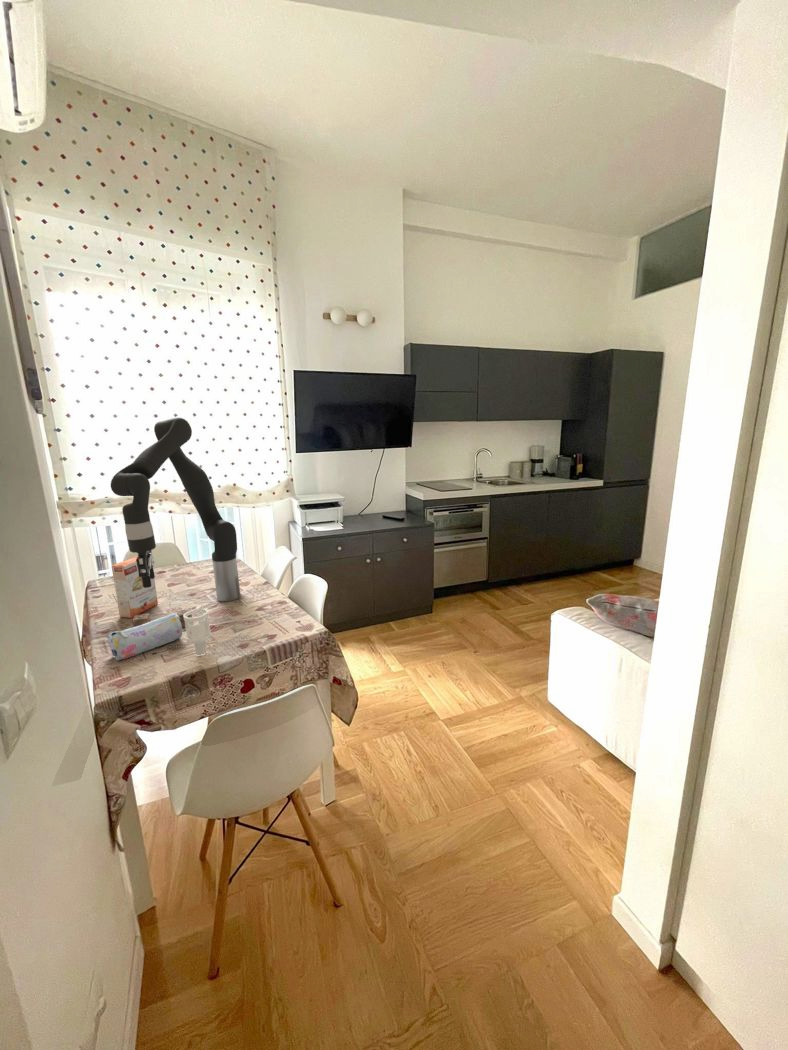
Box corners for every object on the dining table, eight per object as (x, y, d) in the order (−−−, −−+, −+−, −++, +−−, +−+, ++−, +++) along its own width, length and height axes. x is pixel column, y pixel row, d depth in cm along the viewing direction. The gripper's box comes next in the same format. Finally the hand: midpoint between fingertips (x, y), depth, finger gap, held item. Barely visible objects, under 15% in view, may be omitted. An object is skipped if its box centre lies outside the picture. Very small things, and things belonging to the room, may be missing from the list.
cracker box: (132, 618, 162) (123, 566, 158) (119, 617, 164) (109, 565, 159) (159, 603, 176) (151, 555, 171) (146, 603, 177) (138, 554, 172)
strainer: (216, 647, 140) (211, 604, 136) (208, 659, 133) (202, 614, 129) (194, 648, 139) (188, 605, 136) (185, 660, 132) (178, 615, 129)
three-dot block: (151, 624, 157) (149, 612, 156) (148, 629, 153) (146, 617, 152) (137, 626, 156) (135, 614, 155) (134, 632, 152) (132, 620, 151)
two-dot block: (192, 620, 160) (190, 608, 159) (191, 625, 156) (189, 613, 155) (179, 622, 159) (177, 610, 158) (177, 627, 155) (176, 615, 154)
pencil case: (115, 666, 130) (109, 637, 128) (107, 656, 136) (102, 628, 134) (186, 641, 145) (182, 615, 142) (177, 633, 150) (173, 608, 148)
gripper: (150, 539, 133) (159, 588, 137) (156, 529, 145) (164, 574, 149) (122, 542, 130) (132, 592, 134) (130, 532, 143) (140, 577, 147)
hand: (149, 582), depth 142 cm, fingers open, 8 cm apart
